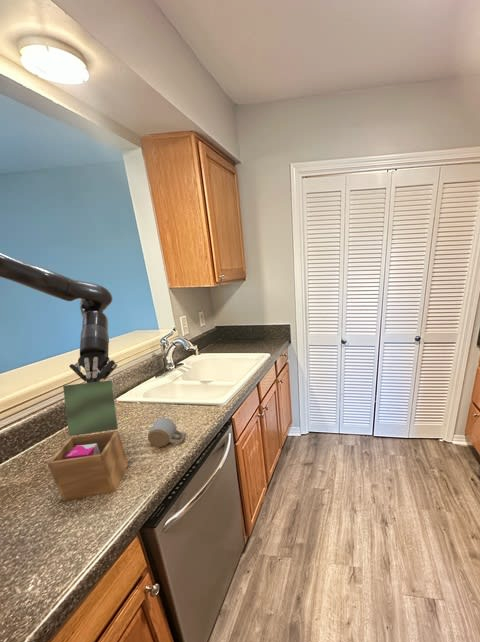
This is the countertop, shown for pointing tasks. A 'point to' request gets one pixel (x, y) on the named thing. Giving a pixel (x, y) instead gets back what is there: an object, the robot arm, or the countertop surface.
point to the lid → (90, 407)
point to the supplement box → (83, 451)
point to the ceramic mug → (163, 433)
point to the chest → (89, 466)
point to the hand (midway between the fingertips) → (92, 391)
